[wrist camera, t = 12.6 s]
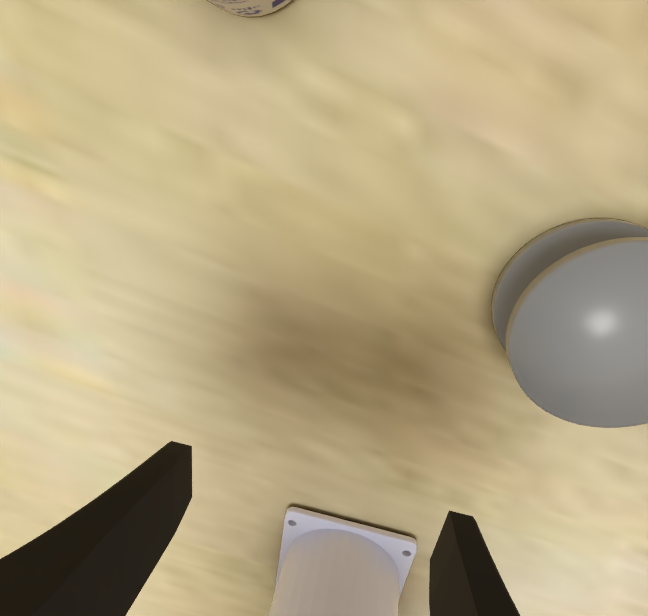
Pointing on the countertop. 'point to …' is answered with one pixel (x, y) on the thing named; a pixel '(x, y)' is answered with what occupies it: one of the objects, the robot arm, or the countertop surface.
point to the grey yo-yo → (579, 321)
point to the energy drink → (250, 6)
